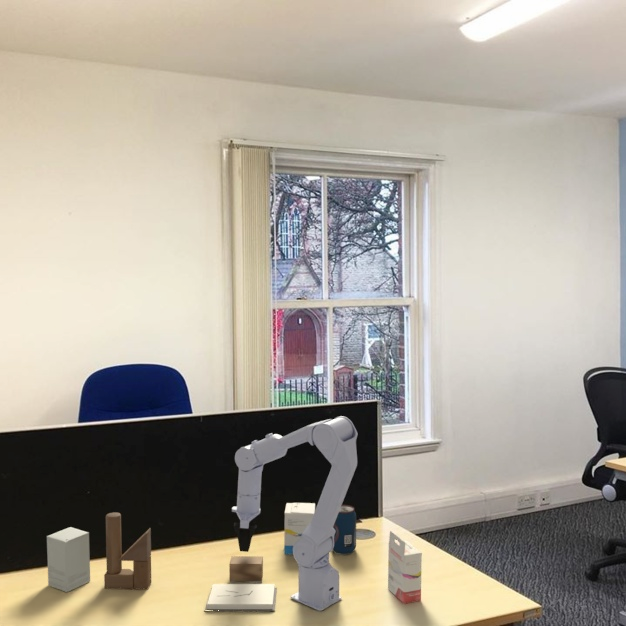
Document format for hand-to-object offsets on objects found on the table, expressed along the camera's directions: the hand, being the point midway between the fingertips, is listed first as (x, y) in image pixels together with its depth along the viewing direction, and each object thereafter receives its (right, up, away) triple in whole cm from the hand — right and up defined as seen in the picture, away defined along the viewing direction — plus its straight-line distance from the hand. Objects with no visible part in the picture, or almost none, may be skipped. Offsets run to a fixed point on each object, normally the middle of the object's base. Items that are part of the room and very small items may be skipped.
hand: (246, 544), depth 174 cm
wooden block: (-29, -9, -4) cm, 30 cm away
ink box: (+13, -8, +19) cm, 25 cm away
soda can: (+25, -8, +18) cm, 32 cm away
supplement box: (-44, -9, -2) cm, 45 cm away
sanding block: (0, -9, 0) cm, 9 cm away
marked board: (0, -10, -11) cm, 14 cm away
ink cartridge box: (+39, -10, -8) cm, 41 cm away
